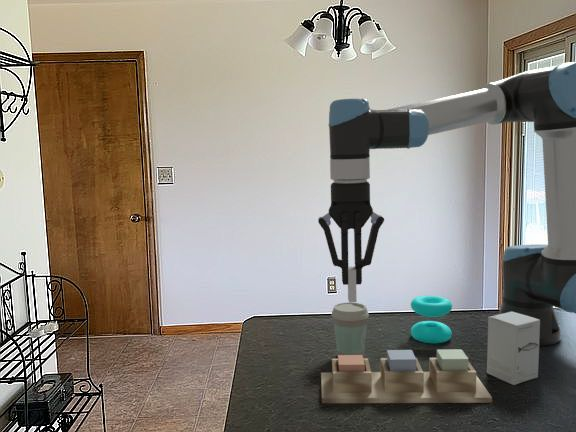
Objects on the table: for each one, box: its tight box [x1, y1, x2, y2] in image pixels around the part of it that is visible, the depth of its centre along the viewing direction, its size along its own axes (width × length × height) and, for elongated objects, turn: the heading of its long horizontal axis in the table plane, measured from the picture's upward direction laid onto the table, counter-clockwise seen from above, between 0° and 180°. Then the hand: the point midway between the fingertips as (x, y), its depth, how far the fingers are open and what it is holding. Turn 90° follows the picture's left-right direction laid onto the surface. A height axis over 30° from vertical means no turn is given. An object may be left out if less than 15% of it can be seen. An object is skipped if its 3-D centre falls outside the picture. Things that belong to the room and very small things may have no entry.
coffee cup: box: [331, 301, 370, 356], centre depth 126 cm, size 8×8×12 cm
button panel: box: [320, 357, 493, 404], centre depth 110 cm, size 32×12×5 cm, turn 87°
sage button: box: [436, 348, 470, 371], centre depth 109 cm, size 5×5×4 cm
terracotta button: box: [337, 354, 365, 372], centre depth 110 cm, size 5×5×4 cm
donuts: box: [410, 295, 453, 344], centre depth 137 cm, size 10×10×10 cm
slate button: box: [386, 349, 417, 371], centre depth 109 cm, size 5×5×4 cm
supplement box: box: [486, 312, 540, 386], centre depth 114 cm, size 7×7×13 cm
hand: (352, 300), depth 108 cm, fingers closed
